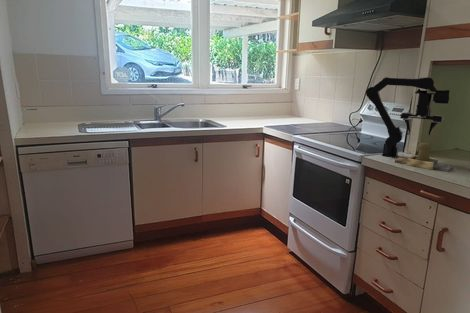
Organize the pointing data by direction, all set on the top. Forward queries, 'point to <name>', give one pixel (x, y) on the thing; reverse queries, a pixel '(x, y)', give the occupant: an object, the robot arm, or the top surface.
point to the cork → (424, 151)
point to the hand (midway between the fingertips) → (419, 134)
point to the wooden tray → (423, 163)
